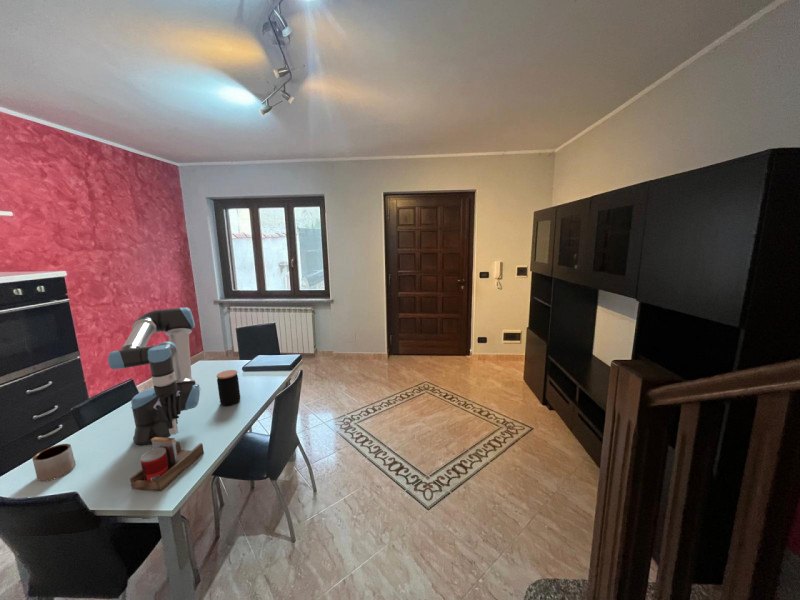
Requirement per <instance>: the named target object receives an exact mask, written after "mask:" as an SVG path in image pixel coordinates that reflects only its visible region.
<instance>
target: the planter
mask: <svg viewBox="0 0 800 600" xmlns="http://www.w3.org/2000/svg"><path fill="white" fill-rule="evenodd" d="M32 462H33V463H32V464H33V467H34V471H35V475H36V478H37V480H38V481H39V480H40V482H46V480H48V481H52V480H51V479H53V480H55V479H54V478H56V479H58V478H60V476H61V477H63V476H65V475H66V473H67V474H68V473H70V472H71V471H72V470H73V469H74V468H75V467H76V465H77V464H76V460H75V457H74V452H73V449H72V445H71V444H70V443H62V444H61V443H60V444H57V445H56V444H55V445H53V446H50V447H47V448H45V449H43V450H41V451H39V452H37V453H36V454H35V455H34V456H32ZM64 474H65V475H64ZM62 475H63V476H62ZM57 477H58V478H57Z"/></svg>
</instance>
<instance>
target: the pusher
mask: <svg viewBox="0 0 800 600" xmlns="http://www.w3.org/2000/svg"><path fill="white" fill-rule="evenodd" d="M151 442H152V444H151V445H152V449H155V448H165V449H166V452H167V458H168V464H169V469H170V468H171V467H173V466H174V465H175V464H176V463H177V462H178V457H177V451H176V445H175V443H176V438H175V437H167V438H163V437H154V438H152V439H151Z"/></svg>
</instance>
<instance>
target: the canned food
mask: <svg viewBox="0 0 800 600" xmlns="http://www.w3.org/2000/svg"><path fill="white" fill-rule="evenodd" d="M140 464H141V469H142V470H143V475H144V480H145V481H153V482H156V480H157V479H158V478H160V477H161V476H162V475H163V474H164V473H165V472H167V471H168V470H169V464H168V458H167V452H166V449H165V448H155V449H153V448H152V449H150V450H148V451H146V452H144V453H143V454H141V456H140Z"/></svg>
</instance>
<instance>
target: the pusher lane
mask: <svg viewBox="0 0 800 600" xmlns="http://www.w3.org/2000/svg"><path fill="white" fill-rule="evenodd" d="M175 445H176V451H177V457H178V462H177V463H176V464H175V465H174V466H173V467H171V468H170V469H169V470H168V471H167V472H165V473H164V474H163V475H162V476H161V477H160V478H158V479H157V480H156V482H153V481H145V480H144V475H143V470H142V468H140V470H139V471H137V472H136V473H135V474H133V475H132V476H131V477H130V479H129V480H130V485H131V489H132V490H139V491H151V492H160V493H161V492H163V491H164V490H165V489H166V488H167V487H168V486H169V485H170V484H172V483H173V481H175V480H176V479H177V478H178V477H179V476H180V475H181V474H183V473H184V471H186V470H187V469H188V468H189V467H191V465H193V464H194V463H195V461H197V460H198V459H199V458H200V457H202V456H203V454H205V451H204V445H203V443H201V442H200V443H198V444H197V445H196V446H195V447H194V448H192V449H191V450H189V449H188V450H187V449H182V446H181V442H180V441H176V442H175Z"/></svg>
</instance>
